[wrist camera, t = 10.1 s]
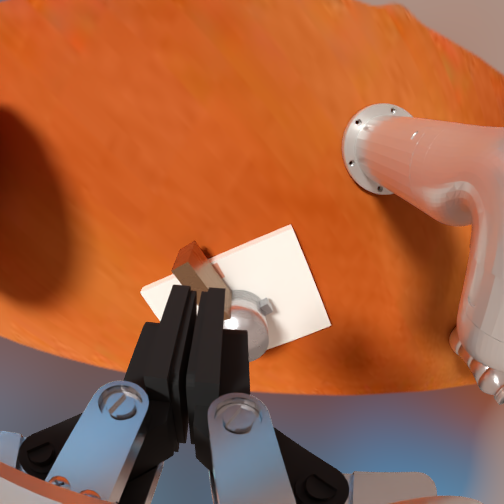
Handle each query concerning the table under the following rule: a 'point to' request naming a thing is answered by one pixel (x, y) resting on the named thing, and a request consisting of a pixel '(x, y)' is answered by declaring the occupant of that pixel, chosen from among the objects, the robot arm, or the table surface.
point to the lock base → (264, 284)
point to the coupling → (226, 298)
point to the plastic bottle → (480, 370)
